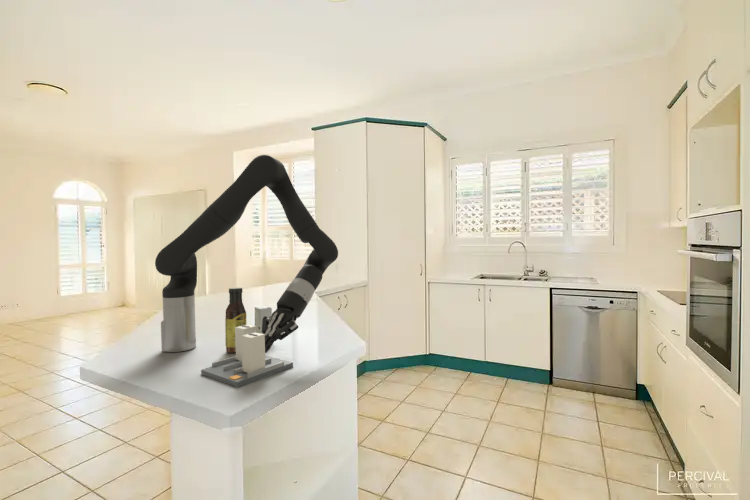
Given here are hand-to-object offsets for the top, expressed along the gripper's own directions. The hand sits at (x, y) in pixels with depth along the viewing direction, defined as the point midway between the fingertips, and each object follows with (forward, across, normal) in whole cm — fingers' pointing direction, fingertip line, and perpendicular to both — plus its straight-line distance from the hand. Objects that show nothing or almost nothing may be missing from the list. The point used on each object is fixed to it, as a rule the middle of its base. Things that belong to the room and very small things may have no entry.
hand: (261, 350), depth 96 cm
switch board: (+5, -5, +4) cm, 8 cm away
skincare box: (-10, -25, +18) cm, 33 cm away
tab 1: (+2, -10, +5) cm, 11 cm away
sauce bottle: (-2, -24, +10) cm, 26 cm away
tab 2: (+5, 0, +1) cm, 5 cm away
